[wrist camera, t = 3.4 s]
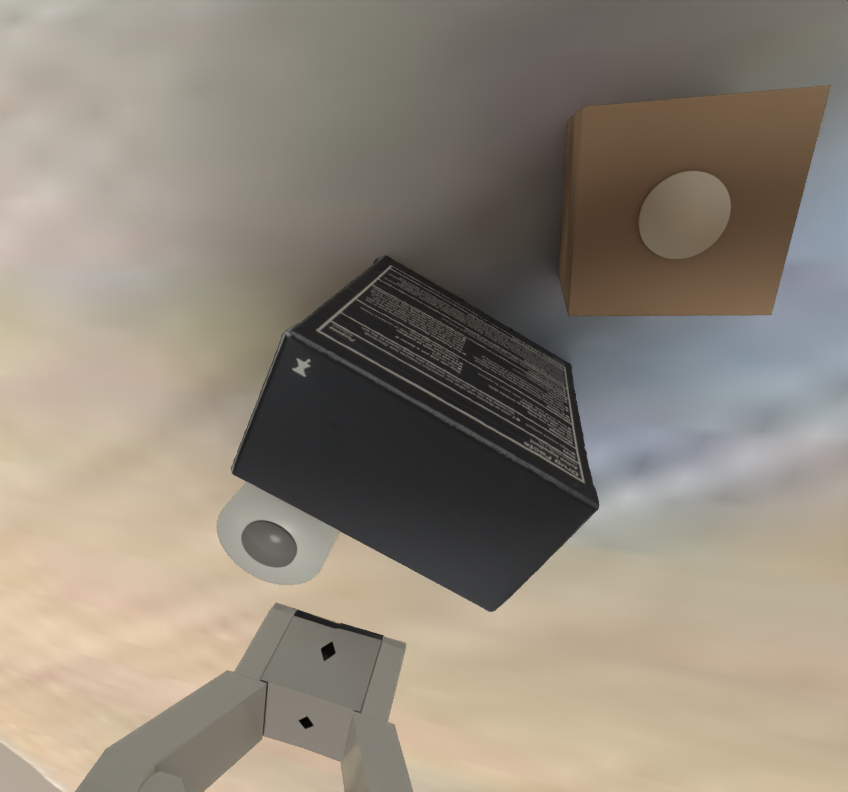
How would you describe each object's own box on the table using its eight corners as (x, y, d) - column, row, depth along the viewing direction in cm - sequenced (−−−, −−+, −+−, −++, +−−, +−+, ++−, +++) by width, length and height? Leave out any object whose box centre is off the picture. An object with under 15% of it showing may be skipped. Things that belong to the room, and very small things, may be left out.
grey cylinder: (275, 420, 28) (213, 485, 22) (368, 446, 27) (328, 519, 22) (271, 494, 30) (214, 569, 25) (356, 519, 30) (317, 601, 24)
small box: (330, 361, 25) (217, 479, 16) (382, 250, 22) (278, 316, 13) (503, 458, 26) (489, 626, 17) (577, 363, 23) (611, 505, 14)
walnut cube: (567, 120, 19) (584, 105, 13) (739, 107, 17) (835, 84, 12) (558, 276, 21) (569, 317, 16) (706, 273, 20) (774, 317, 15)
